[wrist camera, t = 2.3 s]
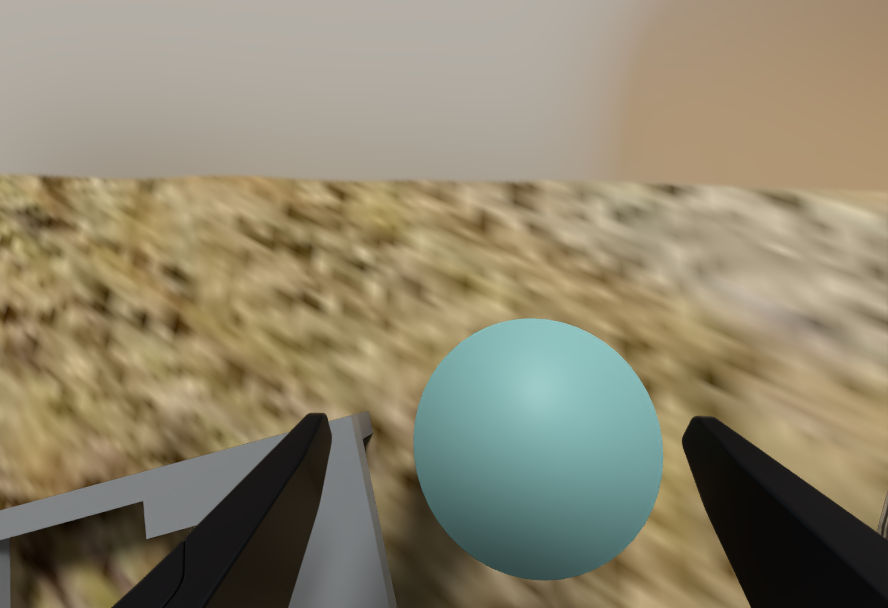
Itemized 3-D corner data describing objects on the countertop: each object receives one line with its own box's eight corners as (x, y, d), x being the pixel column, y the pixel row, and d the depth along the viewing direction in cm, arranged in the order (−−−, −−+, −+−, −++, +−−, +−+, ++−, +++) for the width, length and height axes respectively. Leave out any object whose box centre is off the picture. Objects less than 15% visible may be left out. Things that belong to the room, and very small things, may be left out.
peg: (541, 440, 17) (742, 562, 5) (445, 466, 17) (427, 656, 5) (512, 344, 18) (626, 263, 6) (421, 369, 18) (358, 334, 6)
